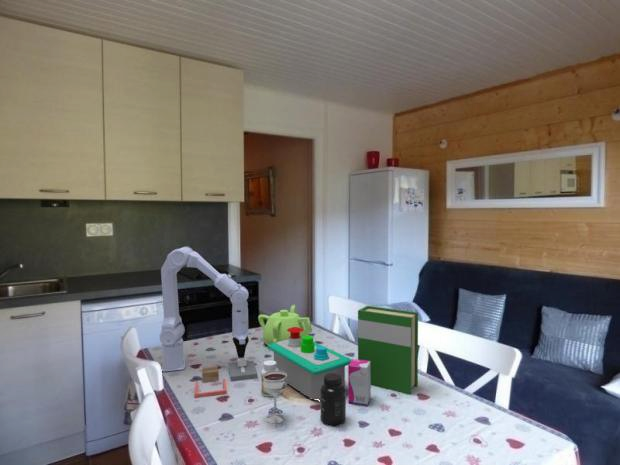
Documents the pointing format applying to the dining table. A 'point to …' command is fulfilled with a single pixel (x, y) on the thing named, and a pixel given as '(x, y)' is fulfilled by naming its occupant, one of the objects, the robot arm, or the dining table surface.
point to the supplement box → (359, 382)
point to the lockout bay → (211, 391)
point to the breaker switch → (241, 362)
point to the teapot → (283, 325)
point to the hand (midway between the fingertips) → (241, 357)
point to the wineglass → (274, 390)
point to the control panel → (307, 362)
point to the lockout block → (210, 374)
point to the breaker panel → (242, 371)
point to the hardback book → (389, 347)
